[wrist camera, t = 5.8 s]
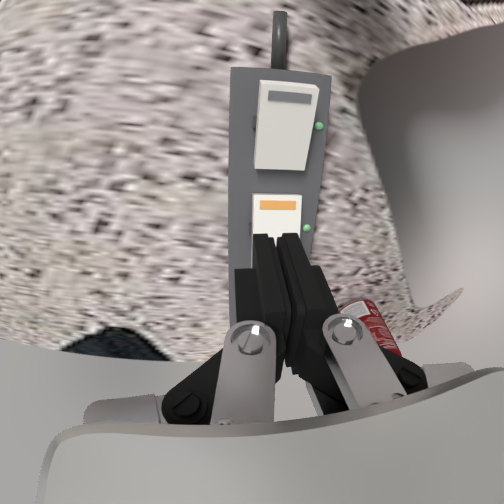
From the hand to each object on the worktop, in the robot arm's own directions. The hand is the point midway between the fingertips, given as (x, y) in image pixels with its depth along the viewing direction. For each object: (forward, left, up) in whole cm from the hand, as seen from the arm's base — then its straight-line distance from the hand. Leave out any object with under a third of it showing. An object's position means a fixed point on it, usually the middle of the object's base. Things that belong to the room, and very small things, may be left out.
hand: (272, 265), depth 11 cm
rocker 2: (+6, +2, -13) cm, 14 cm away
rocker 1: (-4, +2, -13) cm, 13 cm away
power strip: (+3, +2, -18) cm, 18 cm away
